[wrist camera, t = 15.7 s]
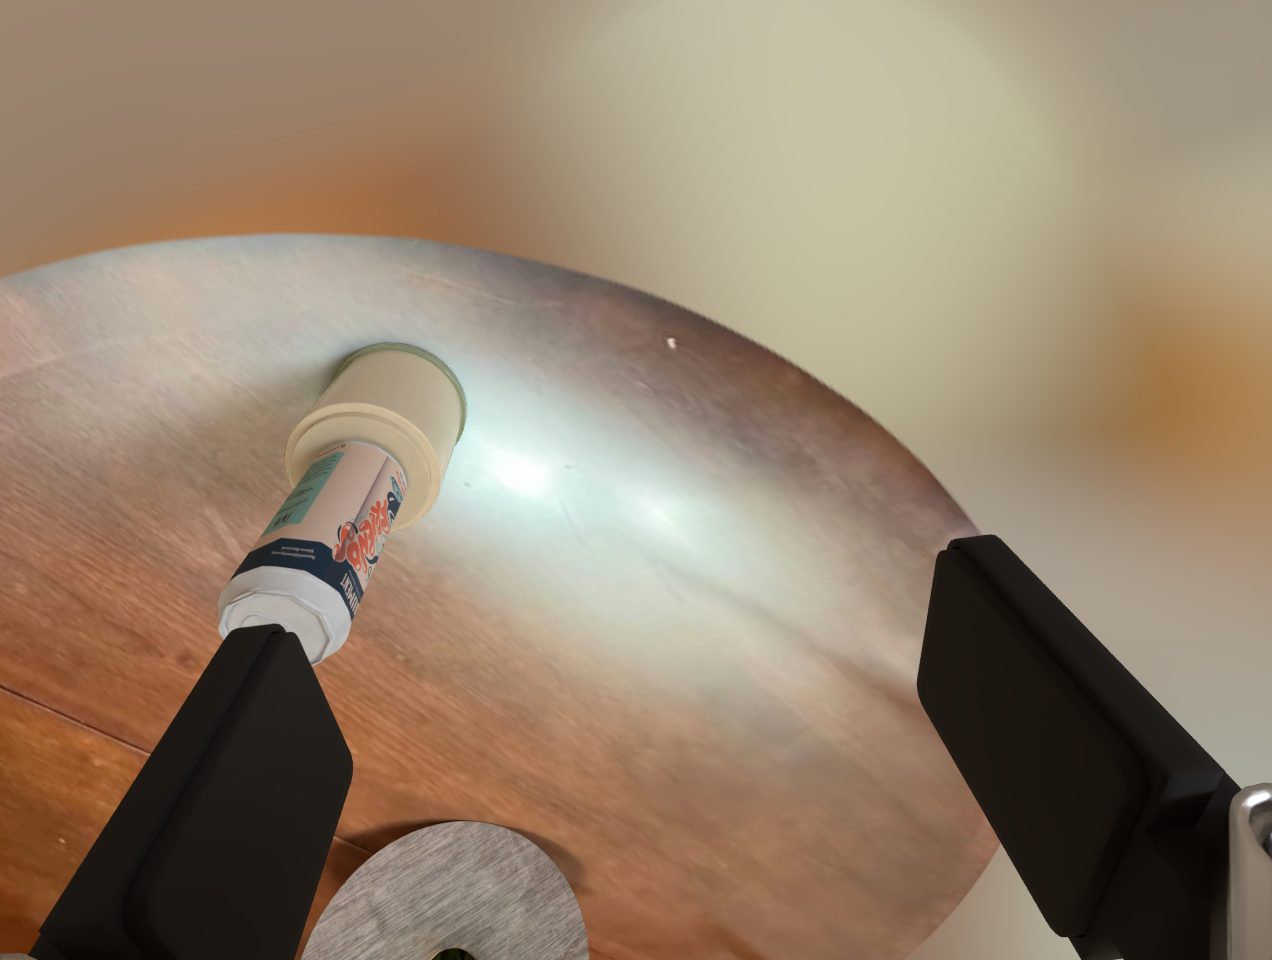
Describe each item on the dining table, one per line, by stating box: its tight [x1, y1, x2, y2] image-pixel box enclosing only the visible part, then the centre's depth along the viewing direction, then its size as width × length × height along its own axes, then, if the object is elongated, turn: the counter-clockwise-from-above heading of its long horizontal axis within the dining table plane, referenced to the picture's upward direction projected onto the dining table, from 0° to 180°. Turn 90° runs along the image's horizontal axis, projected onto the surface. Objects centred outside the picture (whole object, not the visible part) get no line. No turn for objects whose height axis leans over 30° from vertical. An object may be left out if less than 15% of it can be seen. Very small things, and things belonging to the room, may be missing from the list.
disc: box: [301, 821, 589, 960], centre depth 65 cm, size 25×18×25 cm
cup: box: [285, 343, 467, 533], centre depth 40 cm, size 8×8×10 cm
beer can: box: [218, 441, 407, 666], centre depth 30 cm, size 5×5×12 cm
